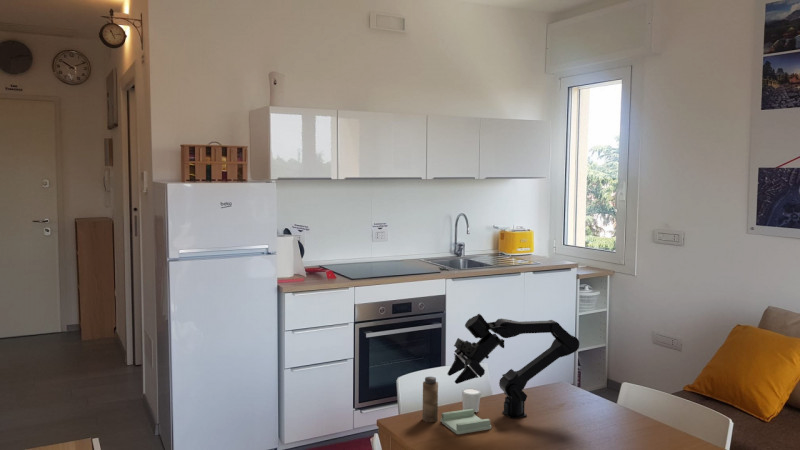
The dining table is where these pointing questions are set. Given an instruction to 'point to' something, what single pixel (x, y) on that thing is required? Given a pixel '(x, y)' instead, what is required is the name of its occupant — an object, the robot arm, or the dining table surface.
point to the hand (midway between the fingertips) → (451, 378)
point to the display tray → (464, 421)
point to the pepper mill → (430, 399)
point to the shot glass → (471, 399)
